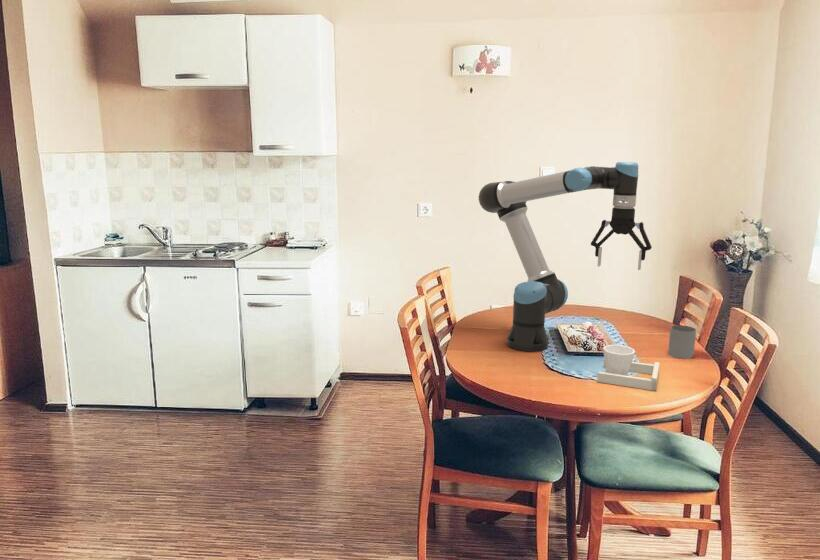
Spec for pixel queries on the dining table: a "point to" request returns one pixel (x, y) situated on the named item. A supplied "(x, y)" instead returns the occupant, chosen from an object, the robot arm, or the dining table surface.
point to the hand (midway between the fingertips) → (618, 267)
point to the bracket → (633, 381)
